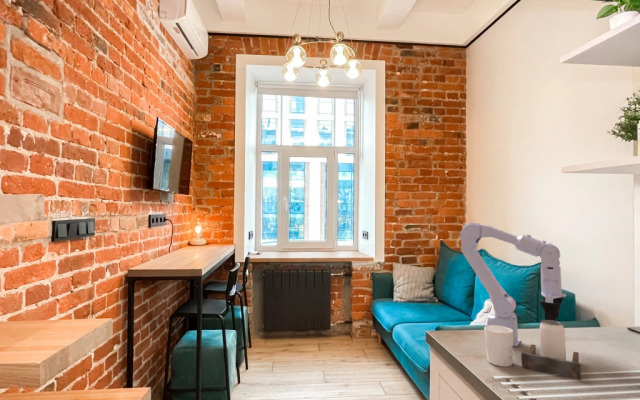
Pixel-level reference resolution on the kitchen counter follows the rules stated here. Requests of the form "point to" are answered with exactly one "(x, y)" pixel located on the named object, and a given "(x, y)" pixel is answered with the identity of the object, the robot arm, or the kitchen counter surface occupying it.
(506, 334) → the white cup
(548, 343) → the can
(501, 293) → the robot arm
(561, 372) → the bay
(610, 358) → the kitchen counter surface
